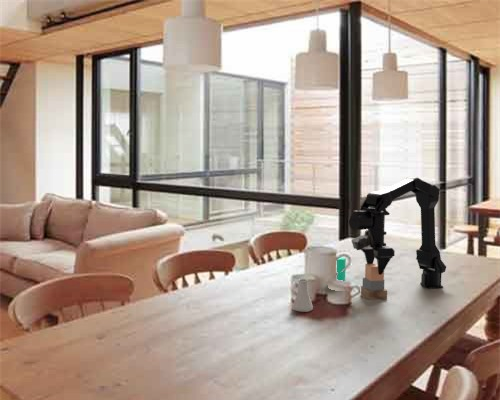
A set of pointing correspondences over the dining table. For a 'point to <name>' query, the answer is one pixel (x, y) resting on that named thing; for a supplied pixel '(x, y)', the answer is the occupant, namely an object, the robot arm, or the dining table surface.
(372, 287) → the tower middle
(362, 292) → the tower base
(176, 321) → the dining table surface
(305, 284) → the flask
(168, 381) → the dining table surface
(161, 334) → the dining table surface
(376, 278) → the terracotta cube
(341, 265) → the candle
